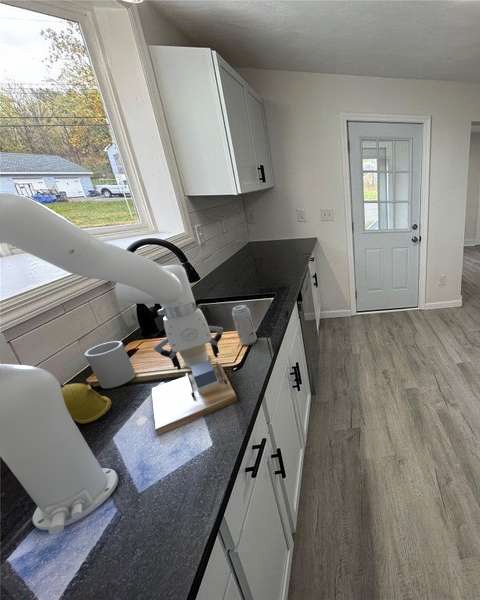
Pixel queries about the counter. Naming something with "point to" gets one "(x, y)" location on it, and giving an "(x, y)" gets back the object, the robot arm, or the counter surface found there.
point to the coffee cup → (194, 355)
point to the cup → (110, 364)
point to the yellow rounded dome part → (84, 402)
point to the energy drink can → (244, 325)
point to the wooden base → (189, 400)
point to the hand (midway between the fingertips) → (198, 361)
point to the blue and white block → (204, 376)
